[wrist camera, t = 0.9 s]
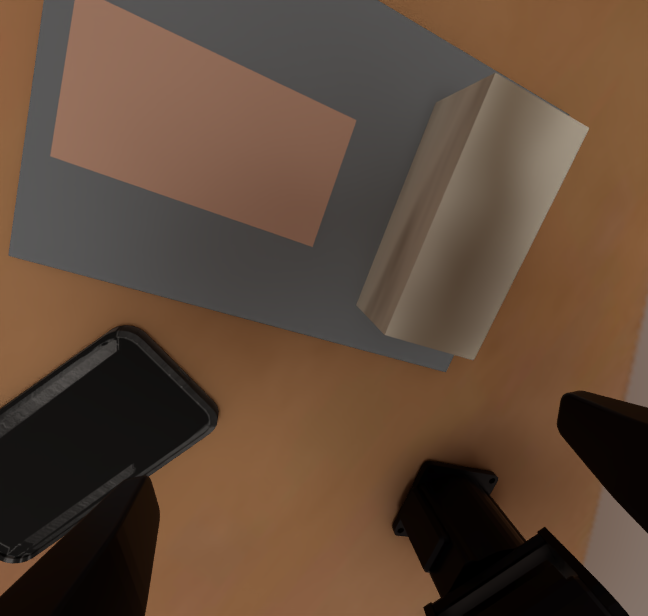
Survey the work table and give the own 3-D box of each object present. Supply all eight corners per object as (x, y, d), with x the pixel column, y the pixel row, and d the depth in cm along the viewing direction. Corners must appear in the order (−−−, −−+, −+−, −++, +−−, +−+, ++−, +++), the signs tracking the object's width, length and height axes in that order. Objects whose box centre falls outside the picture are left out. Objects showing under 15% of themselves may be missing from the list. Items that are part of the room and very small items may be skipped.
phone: (-119, 494, 17) (124, 321, 17) (-97, 477, 18) (131, 314, 18) (17, 570, 20) (227, 423, 20) (29, 551, 21) (228, 412, 21)
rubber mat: (565, 116, 19) (570, 114, 19) (443, 369, 23) (446, 372, 22) (73, -175, 12) (68, -186, 12) (12, 254, 16) (7, 255, 15)
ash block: (512, 143, 19) (589, 128, 14) (429, 327, 21) (473, 360, 17) (435, 102, 17) (495, 72, 13) (356, 305, 20) (384, 335, 15)
